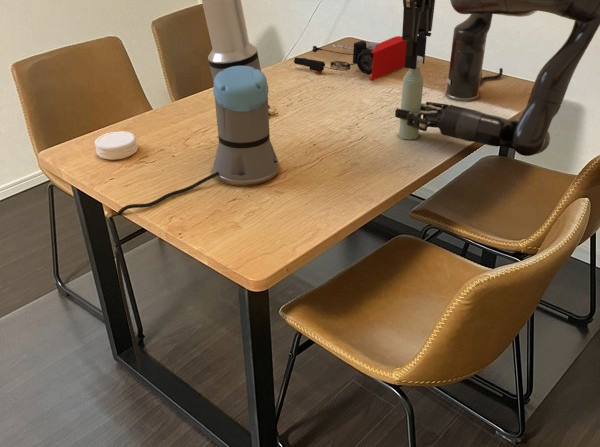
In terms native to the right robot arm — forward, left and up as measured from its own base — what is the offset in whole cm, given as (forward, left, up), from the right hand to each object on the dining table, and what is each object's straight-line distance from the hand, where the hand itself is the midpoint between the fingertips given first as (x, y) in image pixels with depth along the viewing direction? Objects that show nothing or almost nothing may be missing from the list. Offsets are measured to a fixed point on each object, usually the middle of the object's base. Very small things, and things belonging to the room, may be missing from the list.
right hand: (401, 109), depth 159 cm
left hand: (0, +3, +12) cm, 12 cm away
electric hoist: (-40, -39, -7) cm, 56 cm away
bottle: (0, +3, -7) cm, 7 cm away
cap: (0, +3, +14) cm, 14 cm away
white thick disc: (+49, -53, -7) cm, 73 cm away
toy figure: (+9, -41, -7) cm, 43 cm away
